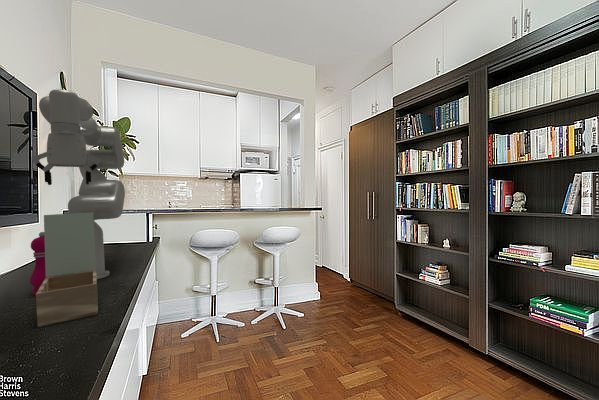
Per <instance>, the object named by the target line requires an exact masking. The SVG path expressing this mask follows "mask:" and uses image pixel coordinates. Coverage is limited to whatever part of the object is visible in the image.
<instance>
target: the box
mask: <svg viewBox="0 0 599 400" xmlns="http://www.w3.org/2000/svg"><path fill="white" fill-rule="evenodd" d="M97 282H98V279H97V276H96V270H95V271H89V272H82V273H70V274H63V275H59V276H54V277H47V278H45V280H44V282H43V283H42V285H41V286H40V288H39V290H38V291H37V293H36V296H35V301H36V302H35V304H36V319H37V321H36V322H37V328H40V327H44V326H45V327H46V326H51V325H54V324H59V323H65V322H70V321H74V320H78V319H83V318H87V317H92V316H97V315H99V300H98V299H99V297H98V283H97Z"/></svg>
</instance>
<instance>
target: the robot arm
mask: <svg viewBox="0 0 599 400" xmlns="http://www.w3.org/2000/svg"><path fill="white" fill-rule="evenodd" d="M38 108H39V111H40V114H41V115H42V117H43V118H44V119H45V120H46V122H47V123H49V125H50V132H49V133H48V135H47V141H46V151H45V152H42V153H39V154H37V155H34V156H32V157H31V161H33V163H34V164H35V166H37V168H39V169H40V170H41V171H43V173H44V174H43V175H44V182H45V183H47V185H48V186H51V185H52V184H53V183H52V181H53V180H52V172H51V170H52V169H53V167H57V168H58V167H60V168H62V167H63V168H64V167H65V168H67V167H69V168H78V169H79V172H80V174H81V176H82V181H81V184H80V186H79V190H78V195H77V196H73V197H72V198H70V199H69V201H68V203H67V210H68V214H73V213H91V212H93V218H94V238H95V257H96V276H97V280H101V279H104V278H106V277H108V276H110V274H111V272H110V271H109V270H106V265H105V261H106V260H105V247H104V245H105V244H104V231H103V228H102V227H101V225H99V224H98V222H96V221H98V220H111V219H113V220H114V219H118V218H120V217H121V216H122V214H123V210H124V205H125V204H124V203H125V196H126V190H125V186H124V185H125V184H124V183H123V182H122V181H120V180H117V179H108V178H107V176H106V175H105V174H104V173H103V172H102V171H100V170H118V169H121V168H123V167H124V165H125V155H124V150H123V143H122V138H121V134H120V132H119V130H118V128H116V126H115V127H114V126H106V125H104V126H103V125H98V122H97V121H96V120H95V119H94V118H93V116H94V108H93V106H92V105H91V103H90V102H89V101H88V100H86V99H85V98H82V97H79V96H78V95H77V94H76V93H75V92H73V91H71V90H67V89H52V90H50V91H49V93H48V96H43V97H42V98H40V100H39V103H38ZM87 146H88V147H89V146H90V147H111V149H87ZM45 158H46V162H47V164H46V165H44V164H42V163H41V161H40V160H42V159H45ZM91 271H95V270H91ZM84 272H89V271H84ZM77 273H82V272H77Z"/></svg>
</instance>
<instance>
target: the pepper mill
mask: <svg viewBox="0 0 599 400" xmlns="http://www.w3.org/2000/svg"><path fill="white" fill-rule="evenodd" d="M30 248H31V250H32V251H33V253H32V254H33V255H32V256H33V258H34V260H35V265H34V269H33V271H32V273H31V276H30V278H29V279H30V280H29V282H30V285H31V286H32V287H34V288H33V289H32V295H33V296H35V297H36V293H37V291H38V290H39V288H40V286H41V285H42V283H43V282H44V280H45V278H47V277H46V269H45V238H44V231H41V232H39V233H38V237H36V238H34V239H33V240H32V241H31V242H30ZM56 276H60V275H56ZM50 277H54V276H50Z"/></svg>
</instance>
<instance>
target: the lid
mask: <svg viewBox="0 0 599 400" xmlns="http://www.w3.org/2000/svg"><path fill="white" fill-rule="evenodd" d="M94 221H95V220H94V218H93V212H91V213H73V214H69V213H60V214H59V213H57V214H44V215H43V224H44V225H43V230H44V231H43V232H44V238H45V269H46V277H50V276H56V275H59V276H61V275H68V274H75V273H77V272H84V271H91V270H96V257H95V238H94Z"/></svg>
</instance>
